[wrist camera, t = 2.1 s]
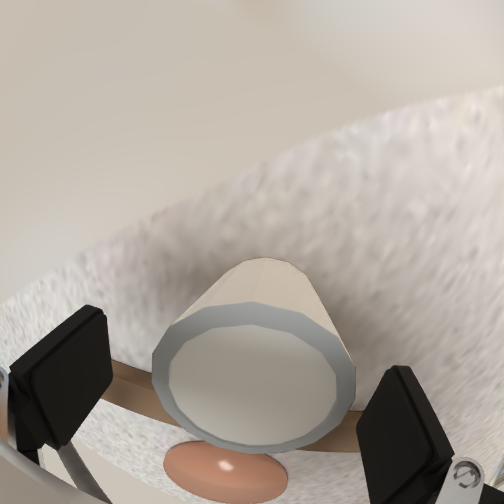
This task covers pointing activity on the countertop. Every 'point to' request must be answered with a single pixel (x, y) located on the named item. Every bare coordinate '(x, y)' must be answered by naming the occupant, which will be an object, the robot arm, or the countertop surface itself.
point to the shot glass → (255, 362)
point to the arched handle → (177, 424)
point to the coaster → (225, 473)
